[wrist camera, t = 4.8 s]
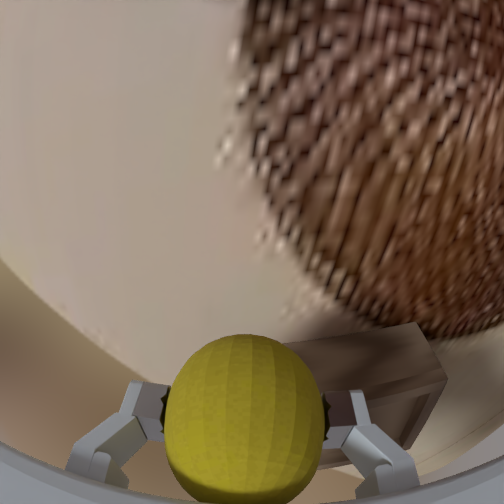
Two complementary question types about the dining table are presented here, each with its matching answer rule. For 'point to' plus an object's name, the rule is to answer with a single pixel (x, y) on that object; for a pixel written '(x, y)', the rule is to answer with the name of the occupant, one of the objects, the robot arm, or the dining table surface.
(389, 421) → the walnut tray
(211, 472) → the lemon
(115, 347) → the dining table surface
